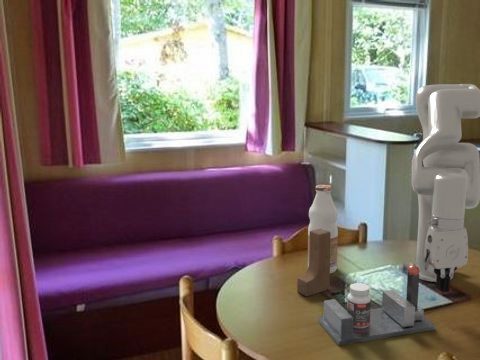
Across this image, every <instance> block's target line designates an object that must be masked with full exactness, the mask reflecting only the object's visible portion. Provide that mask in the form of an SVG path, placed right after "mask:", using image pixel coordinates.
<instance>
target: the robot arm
mask: <svg viewBox="0 0 480 360" xmlns="http://www.w3.org/2000/svg"><path fill="white" fill-rule="evenodd" d="M415 107H416V112H417V113H416V114H417V117H418V119H419V123H420V125H421V128H422V141H421V142H420V144H418V146H417V147H416V149H415V151H414V153H413V155H412V158H411V180H410V181H411V187H412V191H413V192H414V193H416V194H417V200H418V201H417V202H418V221H417V222H418V225H417V226H418V228H417V239H416V240H417V243H416V257H415V258H416V260H415V265H416V266H417V267H418V268H419V270H420V272H419V280H422V281H426V282H432V283H433V282H434V283H435V288H436V289H437V290H438V291H440V292H442V293H443V294H444V293H449V292H450V287H451V280H452V279H453V278H454V273H455V271H456V270H458V269H460V268H462V267H464V266H465V265H467V263H468V260H469V259H468V258H469V239H468V232H467V227H465V226H464V224H465V213H466V212H465V211H466V210H465V209H467V210H468V209H470V210H471V209H475V208H477V206H478V205H479V204H480V153H479V149H478V147H477V146H476V144H473V143H470V142H460V141H461V140H462V135H463V134H462V119H478V118H479V117H480V88H479V87H477V85H475V84H473V83H458V84H457V83H454V84H453V83H451V84H449V83H447V84H445V83H442V84H429V85H423V86H422V87H420V88H418V90H417V92H416V95H415Z"/></svg>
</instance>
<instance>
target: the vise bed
mask: <svg viewBox="0 0 480 360" xmlns="http://www.w3.org/2000/svg"><path fill="white" fill-rule="evenodd" d="M317 321H318V323H319V324H320V326H321V327H322V328H323V329H324V330H325V331H326V333H327V334H328V335H329V336H330V337H331V339H332V340H333V341H334V342H335V343H336V345H338V347H340V346H345V345H346V346H347V345H352V344H357V343H358V344H359V343H362V342H370V341H375V340H381V339H389V338H393V337H398V336H405V335H411V334H416V333H418V334H419V333H422V332H429V331H435V330H436V325H435V324H434V323H433V322H432V321H431V320H429V318H427V317H425V316H423V319H421V320H415V321H414V325H413V326H407V327H403V326H401V325H400V324H399V323H398V322H397V321H396V320H394V319H393V318H392V317H391V316H390V315H389V314H387V313H386V312H385V311H384V310H383V309H382V307H379V308H371V309H370V324H369V326H368V327H366V328H354V327H353V317H352V316H351V315H350V314H349V313H348V312H347V309H345V307H343V305H341V304H340V302H338V301H337V300H336V299H333V298H332V299H326V300H323V316H319V317H318V320H317Z"/></svg>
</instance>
